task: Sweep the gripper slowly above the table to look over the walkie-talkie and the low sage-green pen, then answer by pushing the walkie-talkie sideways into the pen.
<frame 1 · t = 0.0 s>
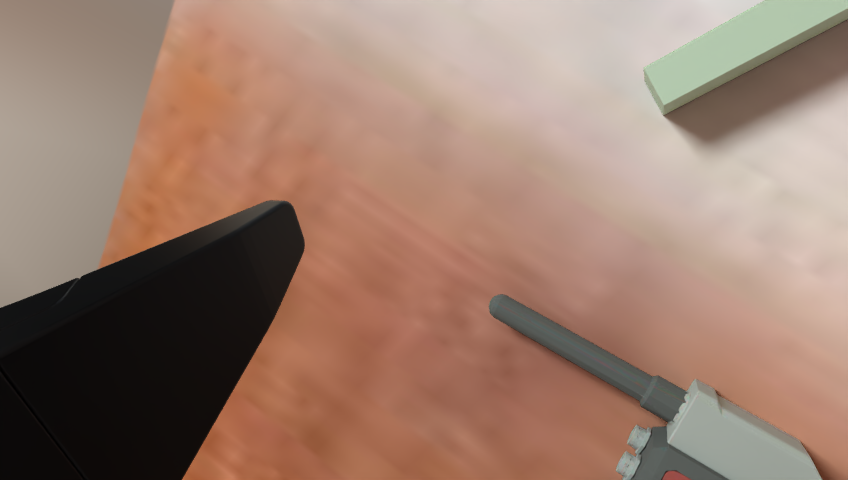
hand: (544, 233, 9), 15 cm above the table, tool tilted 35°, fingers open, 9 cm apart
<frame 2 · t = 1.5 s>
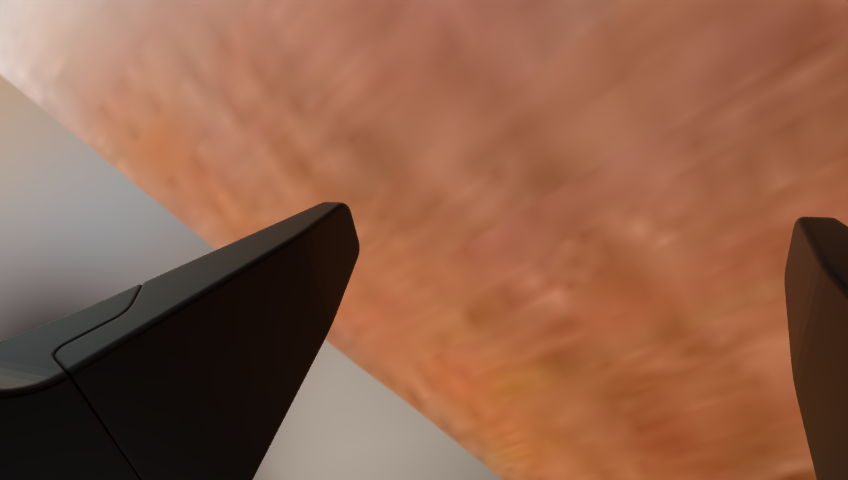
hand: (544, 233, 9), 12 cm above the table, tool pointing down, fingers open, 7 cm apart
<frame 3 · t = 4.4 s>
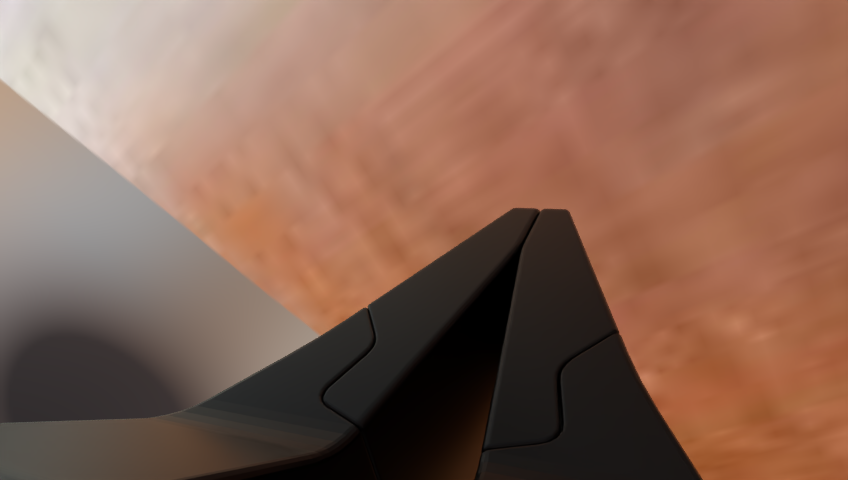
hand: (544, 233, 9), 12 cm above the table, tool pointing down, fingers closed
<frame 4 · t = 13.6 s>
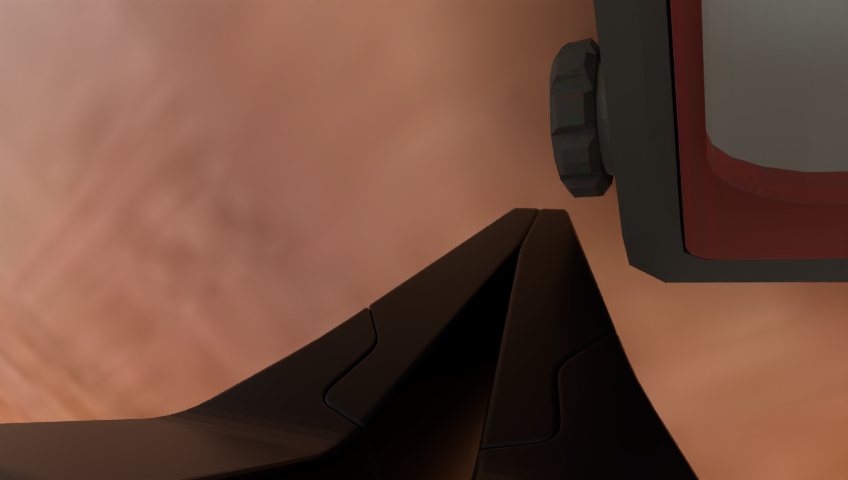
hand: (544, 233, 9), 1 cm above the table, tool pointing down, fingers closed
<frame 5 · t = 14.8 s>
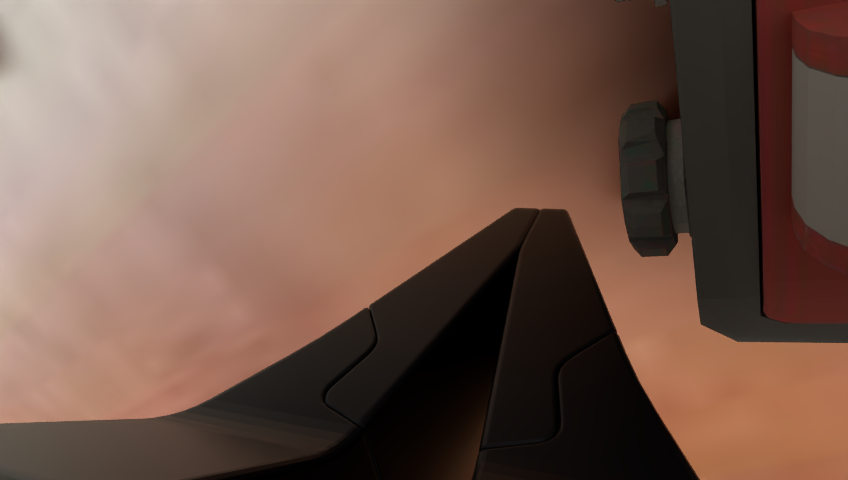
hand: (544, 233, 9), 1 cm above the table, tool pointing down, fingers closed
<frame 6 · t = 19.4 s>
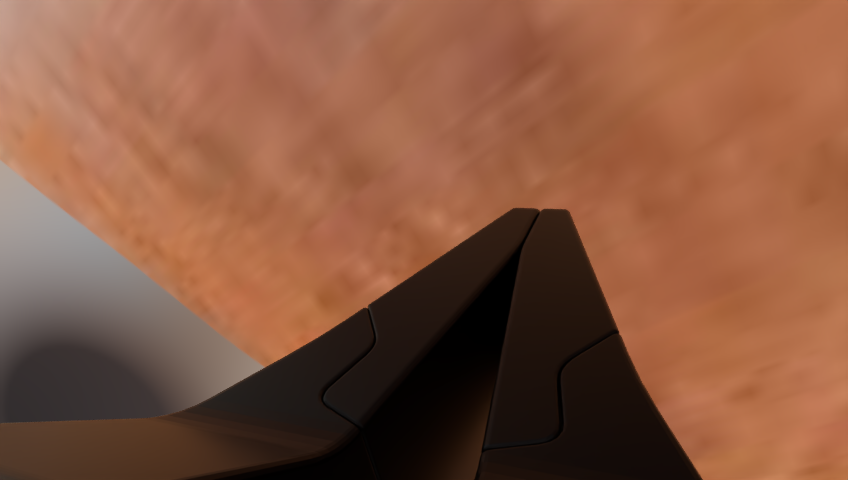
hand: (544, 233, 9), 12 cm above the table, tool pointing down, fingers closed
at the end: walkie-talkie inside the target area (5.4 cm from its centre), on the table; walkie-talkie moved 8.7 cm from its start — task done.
